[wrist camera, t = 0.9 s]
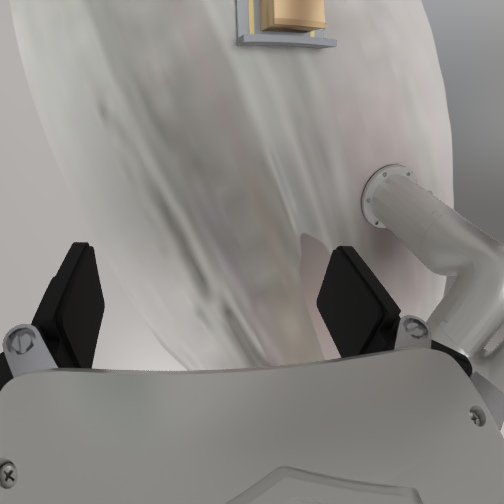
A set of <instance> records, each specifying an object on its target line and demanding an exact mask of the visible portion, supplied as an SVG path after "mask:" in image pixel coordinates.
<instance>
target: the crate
mask: <svg viewBox="0 0 504 504" xmlns="http://www.w3.org/2000/svg"><path fill="white" fill-rule="evenodd" d="M260 21H261V31H270V32H292V33H307V32H311V31H314V30H318V29H326V22H325V19H324V0H260Z"/></svg>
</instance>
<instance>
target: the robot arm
mask: <svg viewBox="0 0 504 504" xmlns="http://www.w3.org/2000/svg"><path fill="white" fill-rule="evenodd" d="M362 210H363V213H364V216H365V218H366V219H367V220H368V221H369V222H370V223H371V224H372V225H373V226H375V227H378V228H383V229H385V228H388V229H389V230H390V231H391V232H392V233H393V234H394V235H395V236H396V237H397V238H398V239H399V240H400V241H401V242H402V243H403V244H404V245H405V246H406V247H407V248H408V249H409V250H410V251H411V252H412V253H413V254H414V255H415V256H416V257H417V258H418V259H419V260H420V261H421V262H422V263H423V264H424V265H425V266H426V267H427V268H428V269H429V270H430V271H432V272H434V273H436V274H439V275H444V276H456V275H457V277H456V279H455V281H454V283H453V284H452V286H451V288H450V289H449V290H448V292H447V293H446V295H445V296H444V297H443V299H442V300H441V302H440V303H439V304H438V306H437V307H436V308H435V310H434V311H433V313H432V314H431V315H430V317H429V318H428V320H427V322H424V321H423V320H422V319H420V318H418V317H416V316H412V315H407V316H403V317H402V318H400V317H399V314H400V312H401V310H400V309H399V307H398V306H397V304H396V303H395V302H394V300H393V299H392V298H391V296H390V295H389V294H388V292H387V291H386V289H385V288H384V287H383V285H382V284H381V283H380V282H379V280H378V279H377V278H376V276H375V275H374V274H373V272H372V271H371V270H370V268H369V267H368V266H367V265H366V263H365V262H364V261H363V260H362V258H361V257H360V256H359V254H358V253H357V252H356V251H355V249H354V248H353V247H351V246H338V247H337V248H336V249H335V250H333V252H332V255H331V258H330V261H329V264H328V267H327V271H326V274H325V277H324V280H323V283H322V286H321V289H320V292H319V295H318V298H317V307H318V309H319V312H320V314H321V316H322V318H323V320H324V322H325V324H326V326H327V328H328V330H329V332H330V335H331V337H332V339H333V341H334V343H335V345H336V347H337V349H338V351H339V353H340V355H341V358H338V359H331V360H324V361H316V362H308V363H299V364H290V365H280V366H269V367H257V368H243V369H225V370H199V371H138V370H108V369H92V364H93V358H94V353H95V348H96V344H97V339H98V334H99V330H100V326H101V321H102V317H103V313H104V308H105V306H104V298H103V294H102V289H101V284H100V280H99V275H98V270H97V264H96V259H95V253H94V248H93V247H92V246H89V244H88V243H87V242H85V243H84V242H83V243H82V242H80V243H79V242H74V243H73V244H72V246H71V248H70V250H69V251H68V253H67V255H66V257H65V259H64V261H63V263H62V265H61V266H60V269H59V270H58V273H57V275H56V276H55V277H53V278H52V280H51V282H50V284H49V286H48V288H47V290H46V292H45V294H44V296H43V298H42V301H41V303H40V305H39V307H38V310H37V312H36V314H35V316H34V318H33V321H32V323H31V325H29V324H21V325H18V326H15V327H14V328H12V329H11V330H10V331H9V332H8V333H7V334H6V336H5V338H4V340H3V350H4V352H2V353H1V354H0V504H504V439H503V436H502V434H501V432H500V430H501V427H502V424H503V421H504V337H503V339H502V340H501V341H500V342H499V343H498V345H497V346H496V347H495V348H494V349H493V350H492V351H487V350H485V349H483V348H484V347H485V346H486V345H487V343H488V342H489V341H490V340H491V339H492V337H493V336H494V335H495V334H496V332H497V331H498V330H499V329H500V328H501V327H502V325H503V324H504V244H502V243H501V242H499V241H497V240H496V239H494V238H492V237H491V236H489V235H488V234H486V233H484V232H483V231H481V230H480V229H479V228H477V227H476V226H474V225H473V224H471V223H470V222H469V221H468V220H466V219H465V218H464V217H462V216H461V215H460V214H458V213H457V212H456V211H454V210H453V209H452V208H450V207H449V206H447V205H446V204H445V203H443V202H442V201H440V200H439V199H438V198H436V197H435V196H433V194H432V192H431V191H426V190H425V189H423V188H422V187H420V186H419V185H418V184H417V180H416V178H415V176H414V174H413V173H412V172H411V171H410V170H409V169H407V168H405V167H404V166H401V165H389V166H386V167H384V168H382V169H380V170H379V171H377V172H376V173H375V174H374V175H373V176H372V177H371V179H370V180H369V181H368V183H367V185H366V187H365V189H364V192H363V196H362Z"/></svg>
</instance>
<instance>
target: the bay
mask: <svg viewBox="0 0 504 504" xmlns="http://www.w3.org/2000/svg"><path fill="white" fill-rule="evenodd" d="M236 17H237V44H238V46H239V45H277V46H299V47H312V48H328V47H337V40H334V39H326V38H324V29H318V30H314V31H311V32H307V33H292V32H270V31H261V21H260V0H236Z"/></svg>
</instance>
